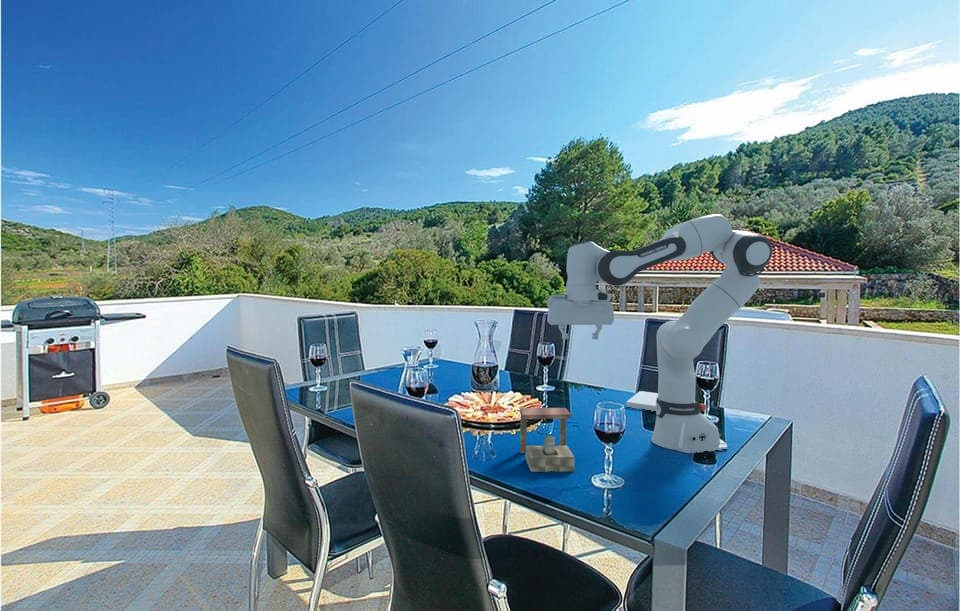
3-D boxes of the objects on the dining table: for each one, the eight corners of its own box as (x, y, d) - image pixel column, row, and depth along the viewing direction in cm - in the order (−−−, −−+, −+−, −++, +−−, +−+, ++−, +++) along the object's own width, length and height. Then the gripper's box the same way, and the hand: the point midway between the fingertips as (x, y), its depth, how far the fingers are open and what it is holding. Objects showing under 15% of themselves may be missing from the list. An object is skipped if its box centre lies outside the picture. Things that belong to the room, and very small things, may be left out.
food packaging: (664, 415, 191) (675, 403, 208) (664, 407, 191) (675, 395, 207) (626, 409, 199) (639, 398, 216) (626, 401, 199) (639, 391, 216)
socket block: (566, 458, 142) (566, 445, 142) (574, 471, 133) (574, 456, 133) (525, 459, 142) (526, 445, 142) (530, 471, 133) (530, 457, 133)
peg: (555, 467, 135) (555, 438, 135) (545, 467, 135) (545, 439, 135) (553, 463, 138) (553, 435, 138) (543, 463, 138) (543, 435, 138)
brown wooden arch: (564, 450, 149) (565, 407, 149) (569, 458, 142) (570, 414, 142) (519, 450, 149) (519, 408, 148) (522, 459, 142) (523, 414, 141)
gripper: (549, 295, 146) (548, 340, 147) (616, 295, 148) (615, 340, 148) (545, 294, 153) (544, 338, 154) (609, 294, 154) (608, 337, 155)
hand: (580, 339), depth 151 cm, fingers open, 8 cm apart
